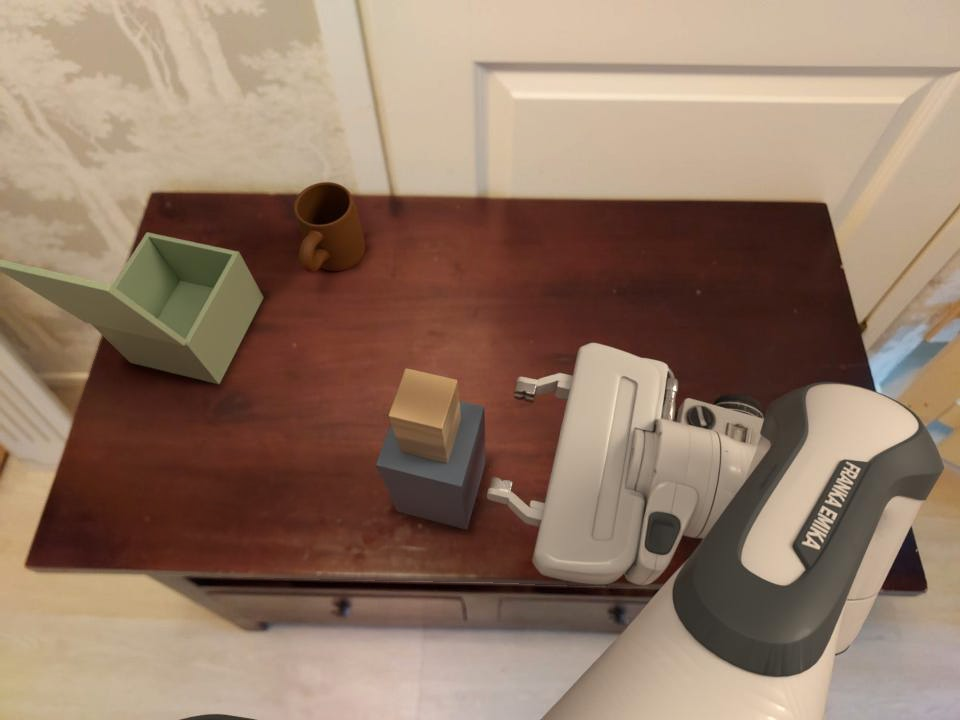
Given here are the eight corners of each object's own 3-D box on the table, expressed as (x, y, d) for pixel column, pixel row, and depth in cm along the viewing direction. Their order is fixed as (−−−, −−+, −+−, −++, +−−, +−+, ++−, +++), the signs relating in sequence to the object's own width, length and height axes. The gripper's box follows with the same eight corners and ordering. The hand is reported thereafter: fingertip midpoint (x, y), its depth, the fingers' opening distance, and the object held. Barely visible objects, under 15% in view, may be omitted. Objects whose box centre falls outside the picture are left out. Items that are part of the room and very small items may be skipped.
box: (179, 278, 87) (146, 231, 79) (263, 297, 86) (239, 251, 77) (130, 362, 81) (88, 321, 73) (219, 384, 80) (187, 345, 71)
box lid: (-9, 257, 59) (-13, 263, 59) (110, 284, 58) (107, 291, 57) (87, 316, 73) (84, 322, 72) (187, 340, 71) (184, 346, 71)
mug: (345, 305, 85) (330, 260, 77) (290, 294, 86) (269, 249, 78) (373, 234, 90) (361, 185, 82) (321, 225, 91) (305, 176, 83)
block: (447, 463, 58) (441, 429, 51) (400, 451, 59) (387, 415, 52) (461, 418, 61) (457, 379, 54) (415, 407, 61) (405, 367, 54)
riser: (467, 530, 71) (461, 486, 57) (396, 511, 72) (375, 464, 59) (485, 461, 74) (484, 406, 61) (418, 445, 75) (403, 387, 62)
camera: (795, 441, 75) (835, 407, 66) (775, 513, 71) (813, 487, 62) (678, 394, 78) (700, 356, 69) (652, 460, 74) (672, 429, 65)
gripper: (690, 349, 56) (531, 315, 57) (660, 592, 46) (471, 542, 48) (672, 382, 61) (527, 350, 63) (641, 606, 52) (472, 561, 53)
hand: (502, 435), depth 55 cm, fingers open, 8 cm apart
